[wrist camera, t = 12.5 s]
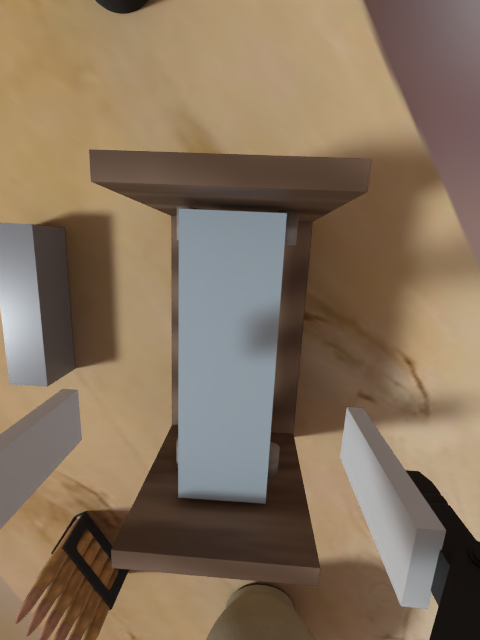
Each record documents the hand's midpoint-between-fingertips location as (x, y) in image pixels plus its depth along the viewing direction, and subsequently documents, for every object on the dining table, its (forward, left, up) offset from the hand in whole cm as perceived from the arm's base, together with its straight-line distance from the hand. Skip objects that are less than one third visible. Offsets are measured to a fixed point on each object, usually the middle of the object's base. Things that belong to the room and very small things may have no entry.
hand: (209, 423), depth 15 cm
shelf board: (0, 0, -12) cm, 12 cm away
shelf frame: (0, 0, -20) cm, 20 cm away
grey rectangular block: (-2, -21, -20) cm, 29 cm away
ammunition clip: (+31, -17, -20) cm, 41 cm away
